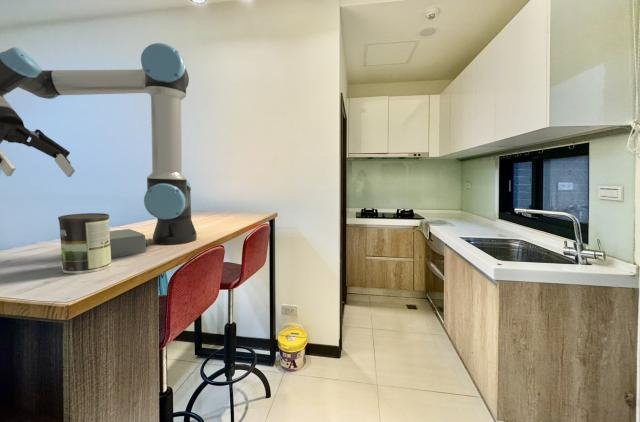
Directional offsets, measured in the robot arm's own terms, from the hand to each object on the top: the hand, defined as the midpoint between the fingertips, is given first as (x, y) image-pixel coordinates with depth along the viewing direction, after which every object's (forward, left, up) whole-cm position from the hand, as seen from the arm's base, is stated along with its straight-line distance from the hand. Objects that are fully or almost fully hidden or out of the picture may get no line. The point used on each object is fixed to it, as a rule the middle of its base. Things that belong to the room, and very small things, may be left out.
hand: (44, 173), depth 76 cm
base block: (-15, -2, -25) cm, 29 cm away
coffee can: (-6, +11, -25) cm, 28 cm away
